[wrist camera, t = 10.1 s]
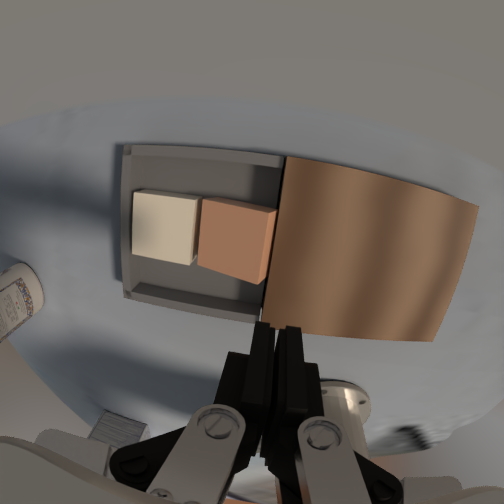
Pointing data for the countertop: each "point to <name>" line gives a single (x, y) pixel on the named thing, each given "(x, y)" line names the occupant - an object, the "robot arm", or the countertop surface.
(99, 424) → the medicine box
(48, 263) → the countertop surface
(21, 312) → the bath foam
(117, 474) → the robot arm
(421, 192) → the walnut board
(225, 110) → the countertop surface
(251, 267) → the terracotta tile
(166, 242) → the cream tile
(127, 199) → the tray
